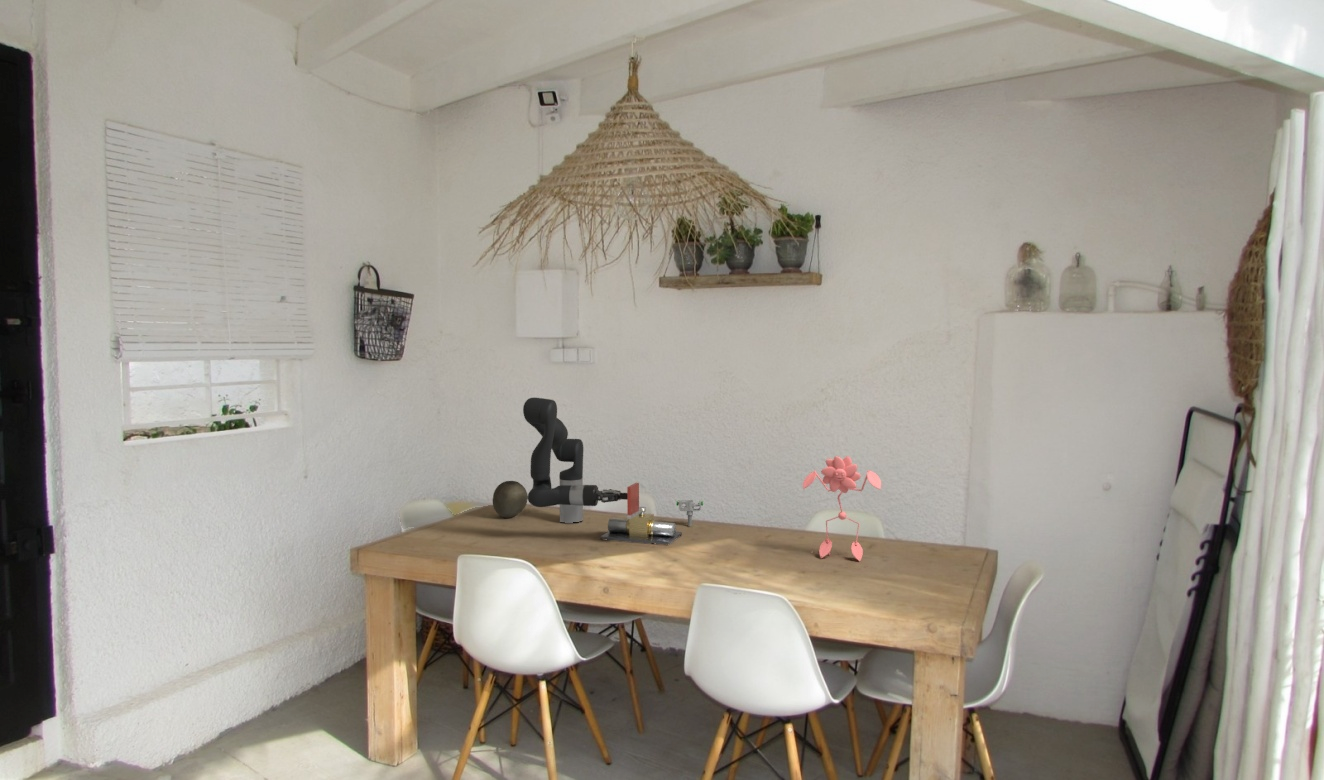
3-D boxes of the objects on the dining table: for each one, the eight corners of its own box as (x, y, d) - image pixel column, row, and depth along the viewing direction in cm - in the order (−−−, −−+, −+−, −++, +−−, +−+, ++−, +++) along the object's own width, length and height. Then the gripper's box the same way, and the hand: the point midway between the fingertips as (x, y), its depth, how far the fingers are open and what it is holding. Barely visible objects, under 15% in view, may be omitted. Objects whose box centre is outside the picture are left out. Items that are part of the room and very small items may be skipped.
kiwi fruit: (492, 522, 332) (492, 484, 331) (492, 514, 346) (492, 479, 345) (528, 520, 335) (528, 483, 334) (527, 513, 349) (526, 477, 348)
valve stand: (600, 539, 303) (600, 513, 302) (617, 530, 318) (617, 505, 317) (668, 545, 294) (668, 518, 294) (681, 535, 309) (681, 509, 309)
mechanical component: (702, 527, 322) (702, 501, 322) (676, 527, 322) (676, 501, 322) (702, 525, 325) (702, 500, 325) (676, 525, 325) (676, 500, 325)
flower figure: (805, 551, 284) (805, 450, 281) (882, 559, 275) (883, 454, 272) (795, 564, 270) (795, 458, 267) (876, 572, 261) (877, 462, 258)
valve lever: (624, 518, 293) (624, 486, 292) (638, 509, 307) (638, 479, 307) (633, 518, 292) (633, 487, 291) (647, 510, 306) (647, 480, 306)
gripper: (579, 488, 292) (628, 489, 290) (587, 481, 305) (634, 482, 303) (579, 509, 292) (628, 510, 290) (588, 502, 306) (634, 502, 303)
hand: (631, 496), depth 296 cm, fingers closed
